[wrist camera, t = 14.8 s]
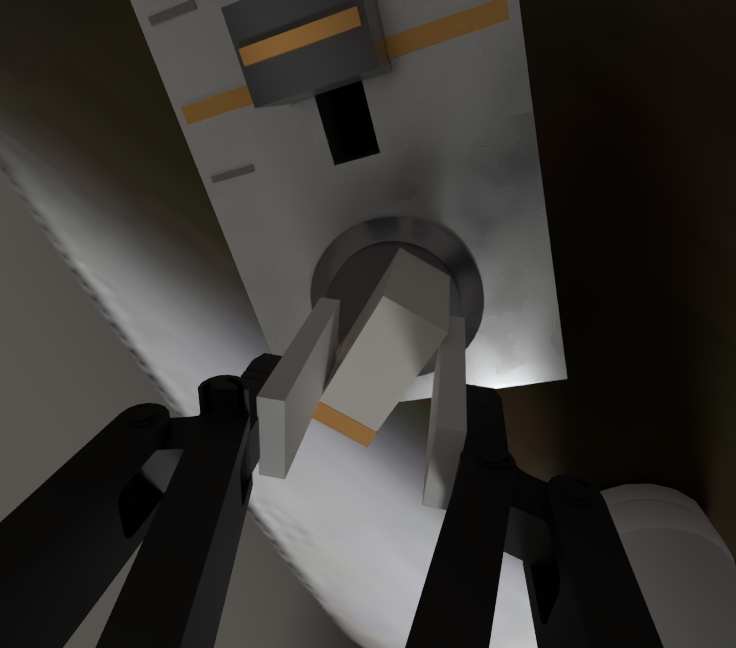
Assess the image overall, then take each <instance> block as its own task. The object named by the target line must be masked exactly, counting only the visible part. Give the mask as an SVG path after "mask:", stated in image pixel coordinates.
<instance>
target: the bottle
mask: <svg viewBox="0 0 736 648" xmlns="http://www.w3.org/2000/svg"><path fill="white" fill-rule="evenodd" d="M600 493H601V494H602V496H603V497H604V499H605V501H606V504H607V506H608V509H609V511H610V514H611V516H612V519H613V521H614V524H615V527H616V529H617V532H618V534H619V537H620V539H621V542H622V544H623V547H624V549H625V552H626V554H627V557H628V559H629V562H630V564H631V567H632V569H633V572H634V574H635V577H636V579H637V582H638V584H639V587H640V589H641V592H642V594H643V597H644V599H645V602H646V604H647V607H648V609H649V612H650V614H651V617H652V619H653V622H654V624H655V627H656V629H657V632H658V634H659V637H660V639H661V642H662V644H663V647H664V648H736V566H735V564H734V559H733V557H732V555H731V553H730V551H729V550H728V548H727V546H726V544H725V543H724V541H723V540H722V538H721V537H720V535H719V534H718V532H717V531H716V530H715V528H714V527H713V526H712V525H711V523H710V521H709V520H708V518H707V516H706V515H705V513H704V512H703V511H702V509H701V508H700V507H699V505H698V504H697V503H696V501H695V500H693V499H691V498H690V497H688V496H686V495H684V494H683V493H681V492H679V491H678V490H676V489H672V488H668V487H663V486H659V485H655V484H624V485H620V486H617V487H613V488H609V489H606V490H602V491H600Z"/></svg>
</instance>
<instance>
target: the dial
mask: <svg viewBox="0 0 736 648" xmlns="http://www.w3.org/2000/svg"><path fill="white" fill-rule="evenodd" d="M326 298H329V299H336V300H340V310H339V327H338V344H339V345H340V346H339V348H338V350H337V362H336V364H335V366H334V368H333V371H332V373H331V375H330V378H329V380H328V382H327V384H326V387H325V389H324V391H323V393H322V396H321V398H320V400H319V403H318V405H317V407H316V409H315V412H314V414H313V416H312V418H314V419H315V420H317V421H319V422H321V423H323V424H325V425H327V426H329V427H330V428H332V429H334V430H336V431H338V432H340V433H342V434H343V435H345V436H347V437H349V438H351V439H353V440H355V441H356V442H358V443H360V444H362V445H364V446H366V447H368V446H369V444H370V443H371V441H372V440H373V439H374V437H375V436H376V435H377V433H378V429H379V428H380V427H381V425H382V424H383V422H384V421H385V420H386V418H387V417H388V416H389V414H390V413H391V411H392V410H393V409H394V407H395V406H396V404H397V403H398V402H399V400H400V399H401V398H402V396H403V395H404V393H405V392H406V391H407V389H408V388H409V387H410V385H411V384H412V382H413V381H414V380H415V378H416V377H417V376H418V374H419V373H420V371H421V370H422V369H423V367H426V366H428V365H430V364H431V363H433V362H435V361H436V360H437V355H438V349H439V345H440V344H441V342H442V341H443V340H444V338H445V337H446V336H447V334H448V331H449V316H455V317H462V316H461V295H460V290H459V287H458V283H457V281H456V279H455V277H454V275H453V274H452V272H451V270H450V269H449V268H448V266H447V265H446V264H445V263H444V262H443V261H442V260H441V259H440V258H439V257H438V256H436V255H435V254H433V253H432V252H430V251H429V250H427V249H425V248H423V247H421V246H418V245H415V244H412V243H407V242H402V241H384V242H379V243H374V244H371V245H368V246H366V247H364V248H362V249H360V250H358V251H357V252H355V253H354V254H352V255H351V256H350V257H349V258H348V259H347V260H346V261H345V262H344V263H343V264H342V266H341V267H340V269H339V270H338V272H337V273H336V275H335V277H334V278H333V280H332V282H331V284H330V286H329V289H328V292H327V297H326Z"/></svg>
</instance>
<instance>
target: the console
mask: <svg viewBox="0 0 736 648" xmlns="http://www.w3.org/2000/svg"><path fill="white" fill-rule="evenodd" d="M130 1H131V3H132V6H133V8H134V11H135V13H136V16H137V18H138V21H139V23H140V26H141V28H142V31H143V33H144V36H145V38H146V41H147V43H148V46H149V48H150V51H151V53H152V56H153V58H154V61H155V63H156V66H157V68H158V71H159V73H160V76H161V78H162V81H163V83H164V86H165V88H166V91H167V93H168V96H169V98H170V101H171V103H172V106H173V108H174V111H175V113H176V116H177V118H178V121H179V123H180V126H181V128H182V131H183V133H184V136H185V138H186V141H187V143H188V146H189V148H190V151H191V153H192V156H193V158H194V161H195V163H196V166H197V168H198V171H199V173H200V176H201V178H202V181H203V183H204V186H205V188H206V191H207V193H208V196H209V198H210V201H211V203H212V206H213V208H214V211H215V213H216V216H217V218H218V221H219V223H220V226H221V228H222V231H223V233H224V236H225V238H226V241H227V243H228V246H229V248H230V251H231V253H232V256H233V258H234V261H235V263H236V266H237V268H238V271H239V273H240V276H241V278H242V281H243V283H244V286H245V288H246V291H247V293H248V296H249V298H250V301H251V303H252V306H253V308H254V311H255V313H256V316H257V318H258V321H259V323H260V326H261V328H262V331H263V333H264V336H265V338H266V341H267V343H268V346H269V348H270V351H271V353H272V354H273V355H280V356H283V355H284V353H285V352H286V350H287V349H288V347H289V345H290V344H291V342H292V341H293V339H294V338H295V336H296V335H297V333H298V331H299V330H300V328H301V327H302V325H303V324H304V322H305V321H306V319H307V318H308V316H309V314H310V313H311V311H312V310H313V308H314V307H315V305H316V304H317V302H318V300H319V299H320V297H322V298H326V297H327V292H328V289H329V286H330V284H331V282H332V280H333V278H334V277H335V275H336V273H337V272H338V270H339V269H340V267H341V266H342V264H343V263H344V262H345V261H346V260H347V259H348V258H349V257H350V256H351V255H352V254H354V253H355V252H357V251H358V250H360V249H362V248H364V247H366V246H368V245H371V244H374V243H379V242H384V241H402V242H407V243H412V244H415V245H418V246H421V247H423V248H425V249H427V250H429V251H430V252H432V253H433V254H435V255H436V256H438V257H439V258H440V259H441V260H442V261H443V262H444V263H445V264H446V265H447V266H448V268H449V269H450V270H451V272H452V274H453V275H454V277H455V279H456V281H457V283H458V287H459V290H460V295H461V316H462V318H465V355H466V384H470V385H476V386H482V387H489V388H494V389H497V388H504V387H511V386H519V385H526V384H533V383H541V382H548V381H555V380H562V379H567V372H566V364H565V356H564V348H563V341H562V333H561V325H560V317H559V309H558V301H557V294H556V286H555V278H554V270H553V262H552V255H551V247H550V239H549V231H548V223H547V216H546V208H545V200H544V192H543V184H542V177H541V169H540V161H539V153H538V145H537V138H536V130H535V122H534V114H533V106H532V98H531V91H530V83H529V75H528V67H527V59H526V52H525V44H524V36H523V28H522V20H521V13H520V5H519V0H375V3H376V7H377V12H378V16H379V21H380V25H381V29H382V34H383V38H384V42H385V47H386V51H387V56H388V60H389V64H390V69H391V71H389V72H386V73H383V74H380V75H377V76H374V77H371V78H368V79H364V80H362V83H363V87H364V91H365V95H366V99H367V103H368V107H369V110H370V114H371V118H372V122H373V126H374V130H375V134H376V138H377V142H378V146H379V149H377V150H373V151H370V152H366V153H362V154H359V155H355V156H352V157H348V158H346V154H345V151H344V147H343V144H342V140H341V137H340V133H339V129H338V126H337V122H336V119H335V115H334V112H333V108H332V104H331V101H330V97H329V94H328V91H327V92H324V93H321V94H318V95H315V96H312V97H308V98H305V99H302V100H299V101H296V102H293V103H290V104H287V105H282V106H273V107H263V108H254V105H253V102H252V99H251V96H250V93H249V90H248V87H247V84H246V81H245V78H244V75H243V72H242V69H241V66H240V63H239V60H238V57H237V54H236V51H235V48H234V45H233V43H232V40H231V37H230V34H229V31H228V28H227V25H226V22H225V19H224V16H223V13H222V10H221V8H222V7H224V6H227V5H229V4H232V3H234V2H237V1H239V0H130ZM339 346H340V345H339V344H338V345H337V350H338V348H339ZM436 361H437V360H436ZM436 361H435V362H433V363H431V364H430V365H428V366H426V367H423V369H422V370H421V371H420V373H419V374H418V376H417V377H416V378H415V380H414V381H413V382H412V384H411V385H410V387H409V388H408V389H407V391H406V392H405V393H404V395H403V396H402V398H401V399H400V400H399V402H402V401H409V400H416V399H424V398H431V397H432V391H433V380H434V372H435V367H436Z"/></svg>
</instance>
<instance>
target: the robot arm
mask: <svg viewBox="0 0 736 648" xmlns="http://www.w3.org/2000/svg"><path fill="white" fill-rule="evenodd" d="M339 310H340V300H336V299H329V298H322V297H320V299H319V300H318V302H317V304H316V305H315V307H314V308H313V310H312V311H311V313H310V314H309V316H308V318H307V319H306V321H305V322H304V324H303V325H302V327H301V328H300V330H299V331H298V333H297V335H296V336H295V338H294V339H293V341H292V342H291V344H290V345H289V347H288V349H287V350H286V352H285V353H284V355H283V356H280V355H273V354H267V353H264V354H262V355H261V356H259V357H257V358H255V359H254V360H252V362H251V363H250V365H249V366H248V367H247V369H246V371H244V373H243V374H242V375H241V378H240V377H238V376H233V375H219V376H215V377H212V378H209V379H207V380H205V381H204V382H202V383H201V384H200V386H199V387H198V394H199V404H200V415H199V416H193V417H178V418H170V415H169V411H168V409H167V408H166V407H165V406H162V405H160V404H155V403H154V404H153V403H145V404H138V405H135V406H133V407H130V408H128V409H126V410H125V411H123V412H122V413H120V414H119V415H118V416H117V417H116V418H115V419H114V420H113V421H111V422H110V423H109V424H108V425H107V426H106V427H105V428H104V429H103V430H102V431H101V432H99V433H98V434H97V435H96V436H95V437H94V438H93V439H92V440H91V441H90V442H88V443H87V444H86V445H85V446H84V447H83V448H82V449H81V450H79V451H78V452H77V453H76V454H75V455H74V456H73V457H72V458H71V459H70V460H68V461H67V462H66V463H65V464H64V465H63V466H62V467H61V468H60V469H59V470H57V471H56V472H55V473H54V474H53V475H52V476H51V477H50V478H49V479H48V480H46V481H45V482H44V483H43V484H42V485H41V486H40V487H39V488H38V489H37V490H35V491H34V492H33V493H32V494H31V495H30V496H29V497H28V498H27V499H26V500H24V501H23V502H22V503H21V504H20V505H19V506H18V507H17V508H16V509H14V510H13V511H12V512H11V513H10V514H9V515H8V516H7V517H6V518H5V519H4V520H2V521H1V522H0V648H63V647H64V645H65V644H66V642H68V640H69V639H70V637H71V636H72V635H73V633H74V632H75V630H76V629H77V628H78V627H79V625H80V624H81V623H82V621H83V620H84V619H85V617H86V616H87V615H88V613H89V612H90V611H91V609H92V608H93V607H94V605H95V604H96V603H97V601H98V600H99V598H100V597H101V596H102V595H103V593H104V592H105V591H106V589H107V588H108V586H109V585H110V584H111V582H112V581H113V580H114V578H115V577H116V576H117V574H118V573H119V572H120V570H121V569H122V568H123V566H124V565H125V564H126V562H127V561H128V560H129V558H130V557H131V556H132V554H133V553H134V552H135V550H136V549H137V547H138V546H139V545H140V544H141V542H142V541H143V542H142V545H141V547H140V549H139V551H138V554H137V556H136V558H135V560H134V563H133V565H132V567H131V569H130V572H129V574H128V576H127V578H126V580H125V583H124V585H123V587H122V589H121V592H120V594H119V597H118V599H117V601H116V603H115V605H114V608H113V610H112V612H111V614H110V616H109V619H108V621H107V623H106V625H105V628H104V630H103V632H102V634H101V637H100V639H99V641H98V643H97V646H96V648H214V644H215V640H216V636H217V632H218V627H219V623H220V619H221V615H222V611H223V606H224V603H225V598H226V594H227V590H228V586H229V582H230V578H231V573H232V569H233V565H234V561H235V557H236V552H237V548H238V544H239V540H240V536H241V532H242V528H243V524H244V519H245V515H246V511H247V507H248V503H249V499H250V494H251V490H252V486H253V479H252V472H253V470H254V468H255V467H256V465H257V463H258V461H259V475H265V476H270V477H275V478H281V479H285V478H286V475H287V473H288V471H289V469H290V466H291V464H292V462H293V459H294V457H295V455H296V453H297V450H298V448H299V446H300V444H301V441H302V439H303V437H304V434H305V432H306V430H307V428H308V425H309V423H310V421H311V419H312V416H313V414H314V412H315V409H316V407H317V405H318V403H319V400H320V398H321V396H322V393H323V391H324V389H325V387H326V384H327V382H328V380H329V378H330V375H331V373H332V371H333V368H334V366H335V364H336V362H337V345H338V327H339ZM422 505H424V506H429V507H434V508H439V509H445V510H447V511H446V514H445V518H444V521H443V524H442V528H441V531H440V534H439V537H438V541H437V544H436V547H435V551H434V554H433V557H432V561H431V564H430V567H429V571H428V574H427V577H426V580H425V584H424V587H423V590H422V594H421V597H420V600H419V604H418V607H417V610H416V613H415V617H414V620H413V623H412V627H411V630H410V633H409V637H408V640H407V643H406V647H405V648H489V644H490V638H491V631H492V624H493V618H494V611H495V605H496V598H497V591H498V585H499V578H500V572H501V565H502V558H503V552H506V553H508V554H510V555H512V556H514V557H516V558H518V559H520V560H522V561H523V567H524V573H525V578H526V584H527V589H528V595H529V601H530V606H531V612H532V618H533V623H534V629H535V635H536V640H537V646H538V648H664V647H663V644H662V642H661V639H660V637H659V634H658V632H657V629H656V627H655V624H654V622H653V619H652V617H651V614H650V612H649V609H648V607H647V604H646V602H645V599H644V597H643V594H642V592H641V589H640V587H639V584H638V582H637V579H636V577H635V574H634V572H633V569H632V567H631V564H630V562H629V559H628V557H627V554H626V552H625V549H624V547H623V544H622V542H621V539H620V537H619V534H618V532H617V529H616V527H615V524H614V521H613V519H612V516H611V514H610V511H609V509H608V506H607V504H606V501H605V499H604V497H603V496H602V494H601V493H600V491H599V490H598V489H597V488H596V487H594V486H593V485H592V484H591V483H589V482H587V481H585V480H584V479H582V478H580V477H576V476H572V475H557V476H554V477H552V478H551V479H550V481H549V482H548V483H547V482H545V481H542V480H540V479H537V478H535V477H533V476H531V475H529V474H527V473H525V472H524V471H522V470H521V469H520V468H518V467H517V466H516V463H515V460H514V458H513V457H512V455H511V454H510V453H509V452H508V444H507V437H506V429H505V421H504V413H503V406H502V399H501V397H500V396H499V395H498V393H497V392H496V391H495V389H494V388H489V387H482V386H476V385H470V384H466V355H465V318H462V317H455V316H449V331H448V334H447V336H446V337H445V338H444V340H443V341H442V342H441V344H440V345H439V349H438V355H437V361H436V367H435V372H434V380H433V391H432V402H431V413H430V424H429V435H428V446H427V457H426V468H425V479H424V490H423V501H422Z"/></svg>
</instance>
